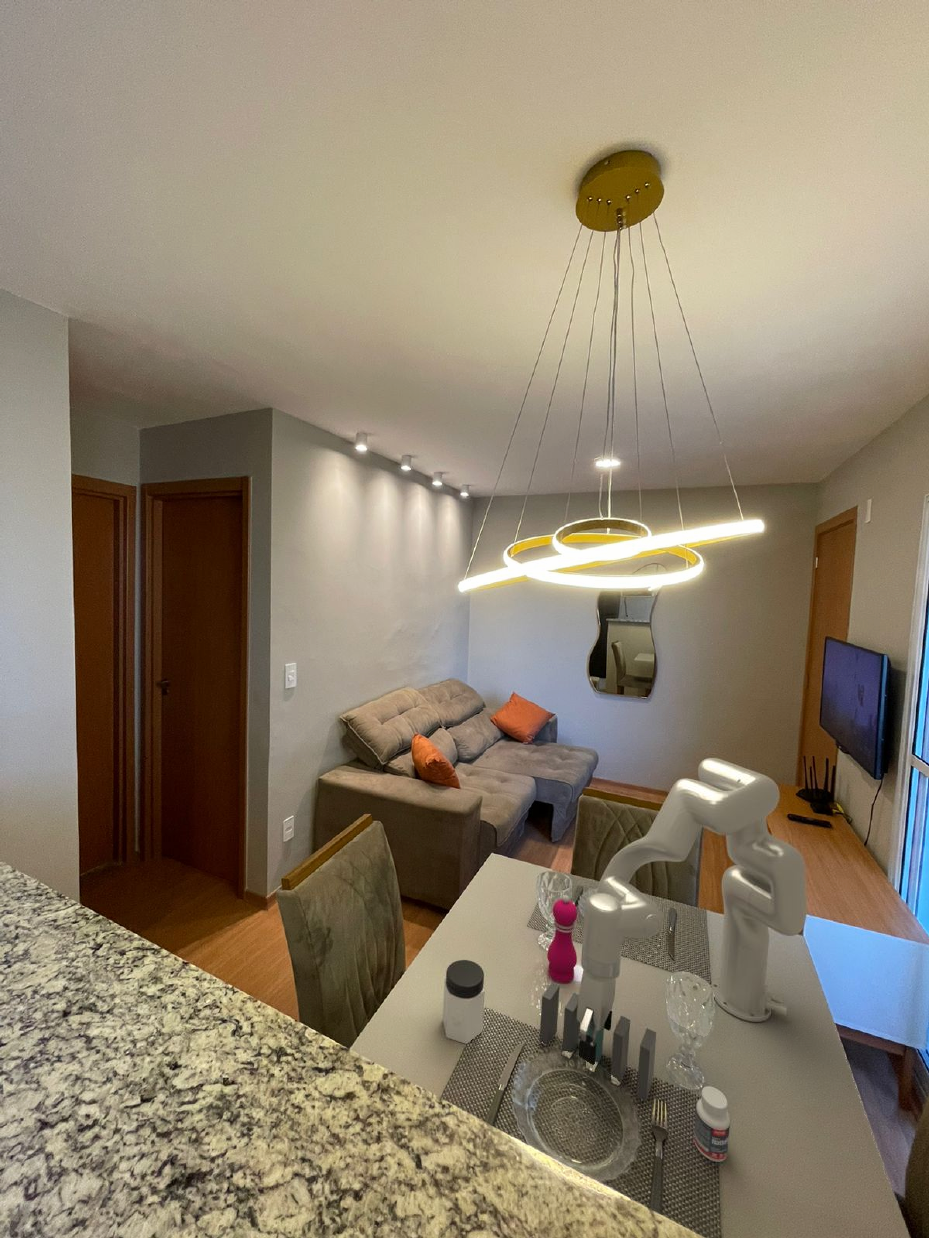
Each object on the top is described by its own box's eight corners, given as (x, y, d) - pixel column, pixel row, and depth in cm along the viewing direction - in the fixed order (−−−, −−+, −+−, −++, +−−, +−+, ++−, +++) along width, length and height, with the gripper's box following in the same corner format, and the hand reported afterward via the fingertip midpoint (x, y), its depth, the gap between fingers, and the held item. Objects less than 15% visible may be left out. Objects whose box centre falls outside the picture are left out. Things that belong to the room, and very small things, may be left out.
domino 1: (556, 1030, 111) (559, 985, 111) (547, 1046, 107) (550, 999, 107) (549, 1026, 112) (551, 981, 112) (539, 1042, 108) (542, 995, 108)
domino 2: (578, 1042, 108) (582, 996, 108) (570, 1059, 104) (573, 1011, 104) (570, 1038, 109) (573, 992, 109) (561, 1054, 105) (564, 1007, 105)
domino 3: (602, 1054, 106) (605, 1007, 105) (594, 1072, 102) (597, 1023, 101) (593, 1050, 107) (596, 1003, 106) (585, 1067, 103) (588, 1018, 102)
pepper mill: (575, 987, 124) (581, 906, 123) (545, 981, 125) (550, 901, 125) (575, 966, 131) (580, 889, 130) (546, 961, 132) (551, 885, 132)
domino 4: (626, 1068, 103) (630, 1019, 103) (619, 1087, 99) (622, 1036, 98) (617, 1063, 104) (621, 1015, 104) (610, 1082, 100) (613, 1032, 99)
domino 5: (652, 1082, 100) (656, 1032, 100) (646, 1102, 96) (650, 1050, 96) (643, 1077, 101) (646, 1027, 101) (636, 1096, 97) (640, 1045, 97)
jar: (435, 1035, 108) (438, 979, 108) (448, 1006, 116) (451, 954, 115) (476, 1048, 105) (480, 991, 105) (487, 1018, 113) (490, 965, 113)
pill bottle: (712, 1168, 85) (716, 1116, 85) (686, 1137, 90) (690, 1088, 90) (734, 1155, 87) (738, 1105, 87) (708, 1126, 92) (712, 1078, 92)
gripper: (596, 930, 113) (591, 1006, 113) (566, 976, 98) (561, 1063, 99) (631, 944, 108) (626, 1023, 109) (605, 995, 94) (599, 1085, 95)
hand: (595, 1042), depth 104 cm, fingers open, 9 cm apart
